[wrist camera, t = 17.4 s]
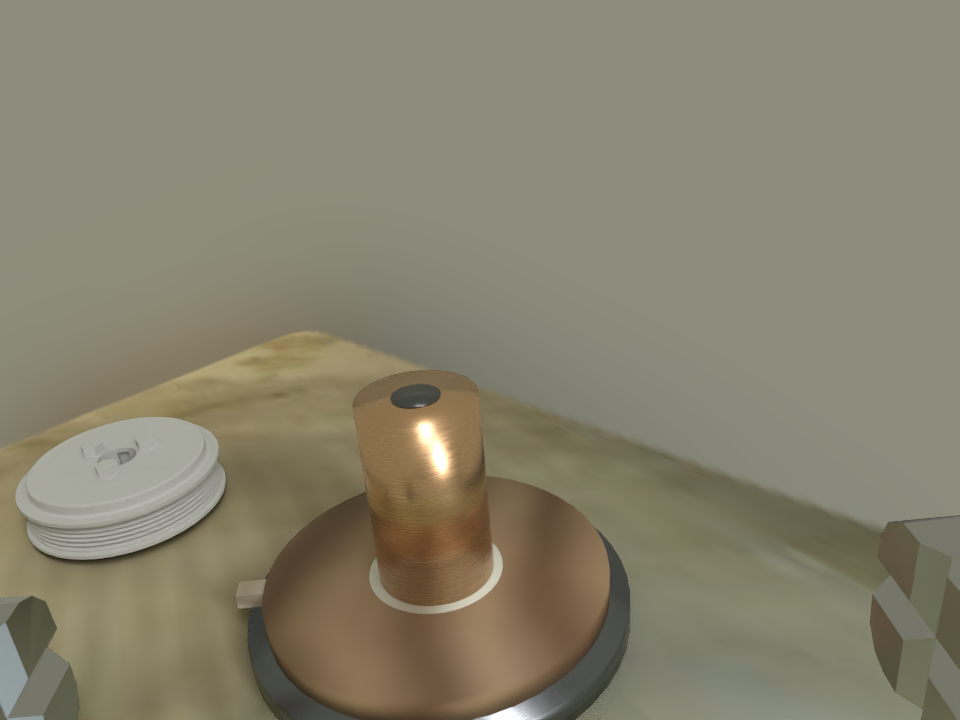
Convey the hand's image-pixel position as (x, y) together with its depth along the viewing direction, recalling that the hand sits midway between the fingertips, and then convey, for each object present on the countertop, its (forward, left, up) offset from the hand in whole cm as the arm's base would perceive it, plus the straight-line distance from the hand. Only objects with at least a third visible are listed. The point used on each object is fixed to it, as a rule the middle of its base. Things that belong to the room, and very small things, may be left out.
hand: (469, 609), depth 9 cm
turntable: (+4, -30, -24) cm, 39 cm away
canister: (+3, -30, -23) cm, 38 cm away
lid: (+24, -43, -26) cm, 56 cm away
